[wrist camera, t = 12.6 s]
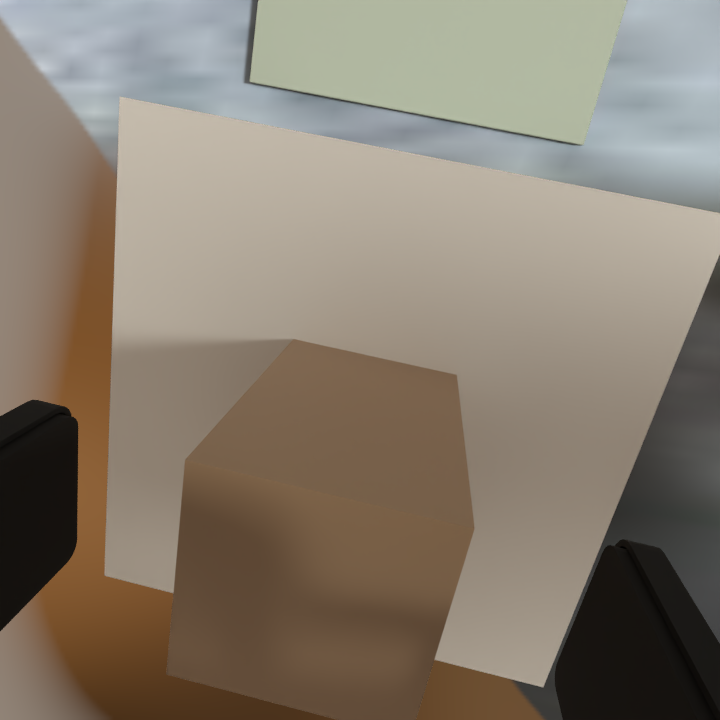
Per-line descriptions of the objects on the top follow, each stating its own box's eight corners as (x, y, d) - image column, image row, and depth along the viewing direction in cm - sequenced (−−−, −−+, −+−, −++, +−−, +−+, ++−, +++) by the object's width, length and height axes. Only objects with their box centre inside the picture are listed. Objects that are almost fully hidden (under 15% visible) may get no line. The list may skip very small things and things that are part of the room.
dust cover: (560, 196, 26) (1057, 252, 5) (489, 436, 30) (606, 982, 10) (296, 144, 27) (-172, 18, 6) (263, 385, 31) (-73, 787, 10)
